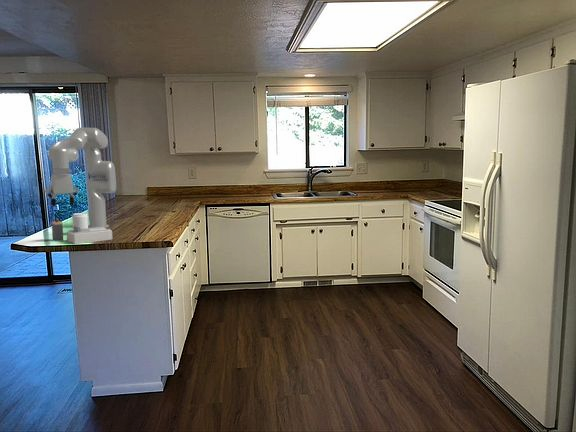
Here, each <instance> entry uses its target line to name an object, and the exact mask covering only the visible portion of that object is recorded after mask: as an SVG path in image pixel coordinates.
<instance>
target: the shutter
mask: <svg viewBox="0 0 576 432" xmlns="http://www.w3.org/2000/svg"><path fill="white" fill-rule="evenodd" d="M72 230H73V229H72ZM84 231H90V230H87V229H82V230H80V227H79V226H74V230H73V232H84Z"/></svg>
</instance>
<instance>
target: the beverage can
mask: <svg viewBox="0 0 576 432" xmlns="http://www.w3.org/2000/svg"><path fill="white" fill-rule="evenodd" d="M88 218H89V217H88V214H87V213H85V212H82V213H81V212H80V213H79V212H76V213H72V218H71V219H72V230H74V226H79V227H80V229H87V228H88V226H89V219H88Z"/></svg>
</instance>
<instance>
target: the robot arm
mask: <svg viewBox="0 0 576 432" xmlns="http://www.w3.org/2000/svg"><path fill="white" fill-rule="evenodd" d="M103 132H104V131H102V130H100V129H99V128H97V127H78V128H75V130H74V131H73V132H72V133H71V135H70V136H69V137H67V138H64V139H61V140H58V141H56V142H55V143H54V144H53V145H52V146H51V147H50V148H49V151H48V158H49V160H50V161H51V162H52V174H51V176H50V186H49V187H48V188H46V189H45V190H44V193H45V194H46V195H47V197H49V199H50V200H51V201H50V203H51V206H52V207H56V206H57V201H56V196H57V195H67V194H68V195H69V205H70V206H74V204H75V197H76V196H77V194H78V193H79V192H80V189H79V188H78V187H76V186H74V185H73V180H72V179H73V178H72V175H71V173H72V172H73V170H72V169H70V164H69V163H75V162H76V161H77V160H78V159H79V151H80V150H83V151H84V153H85V158H86V164H87V165H86V167H87V172H88V174H89V176H92V178H88V179H87V181H86V188H87V194H88V203H89V204H88V206H89V224H88V228H96V227H104V228H106V229H108V228H110V225H109V224H107V210H106V208H107V207H106V199H105V197H104V195H103V194H113V193H115V192H116V191H117V178H116V177H117V176H116V167H115V165H114V163H113V162H112V161H110V160H102V153H101V151H100V150H99V149H106V148H107V147H108V144H109V140H108V137H107V136H106V134H105V133H103Z"/></svg>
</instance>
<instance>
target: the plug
mask: <svg viewBox="0 0 576 432" xmlns="http://www.w3.org/2000/svg"><path fill="white" fill-rule="evenodd" d="M63 225H64V224H63V221H59V218H55V221H51V232H52V235H51V236H52V241H54V240H55V241H54V242H60V241H59V240H62V241H64V229H63V228H64V227H63Z"/></svg>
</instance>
